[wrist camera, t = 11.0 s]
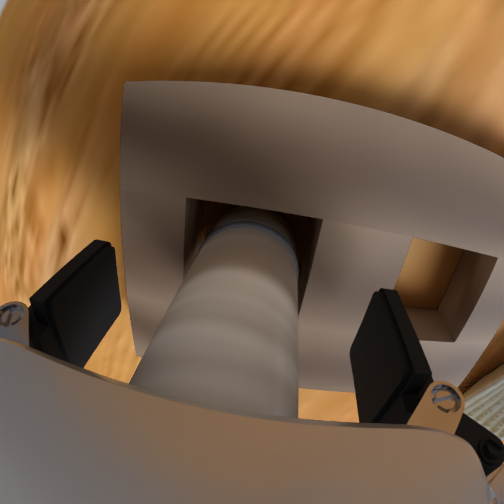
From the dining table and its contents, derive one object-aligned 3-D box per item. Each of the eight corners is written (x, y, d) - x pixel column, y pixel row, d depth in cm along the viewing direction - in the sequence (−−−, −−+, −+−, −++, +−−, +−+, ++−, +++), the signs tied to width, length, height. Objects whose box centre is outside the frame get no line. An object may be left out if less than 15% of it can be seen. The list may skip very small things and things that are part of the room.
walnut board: (155, 84, 12) (124, 81, 9) (524, 172, 11) (557, 188, 9) (154, 323, 19) (136, 355, 16) (440, 361, 18) (453, 392, 15)
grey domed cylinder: (217, 191, 14) (65, 414, 4) (304, 205, 14) (328, 473, 3) (210, 267, 16) (119, 489, 6) (288, 280, 16) (275, 523, 5)
